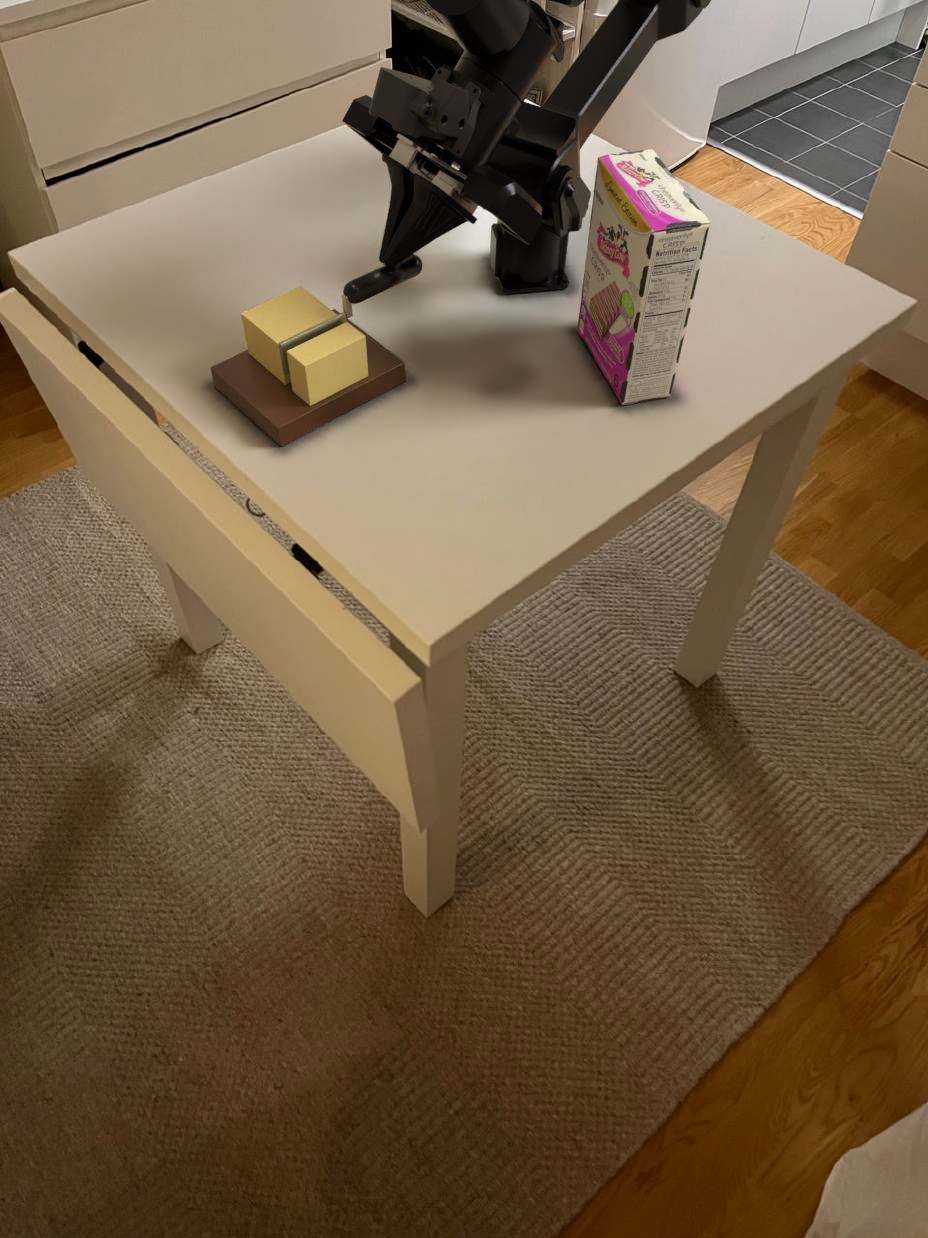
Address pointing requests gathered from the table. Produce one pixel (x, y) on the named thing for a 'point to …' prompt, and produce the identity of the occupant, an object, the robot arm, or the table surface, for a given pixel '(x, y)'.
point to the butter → (305, 345)
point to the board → (284, 408)
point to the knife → (356, 300)
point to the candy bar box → (639, 273)
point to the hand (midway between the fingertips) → (384, 264)
